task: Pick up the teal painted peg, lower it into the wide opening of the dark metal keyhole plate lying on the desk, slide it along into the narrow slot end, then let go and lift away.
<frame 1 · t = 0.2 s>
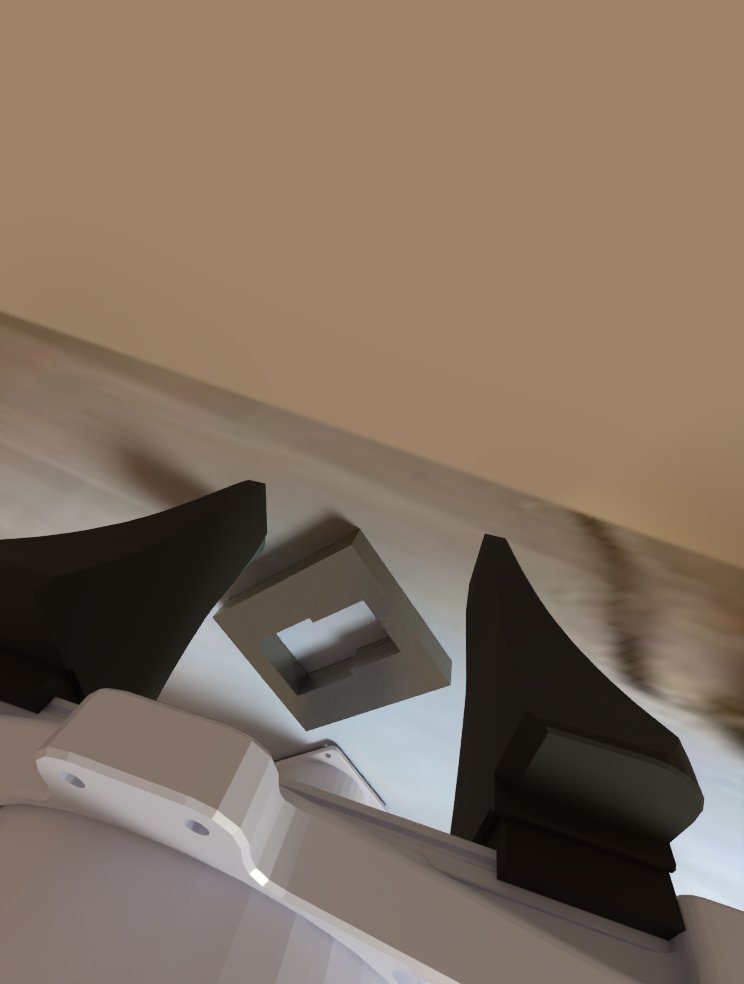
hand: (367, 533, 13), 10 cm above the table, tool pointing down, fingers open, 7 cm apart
keyhole plate: (335, 629, 28), on the table
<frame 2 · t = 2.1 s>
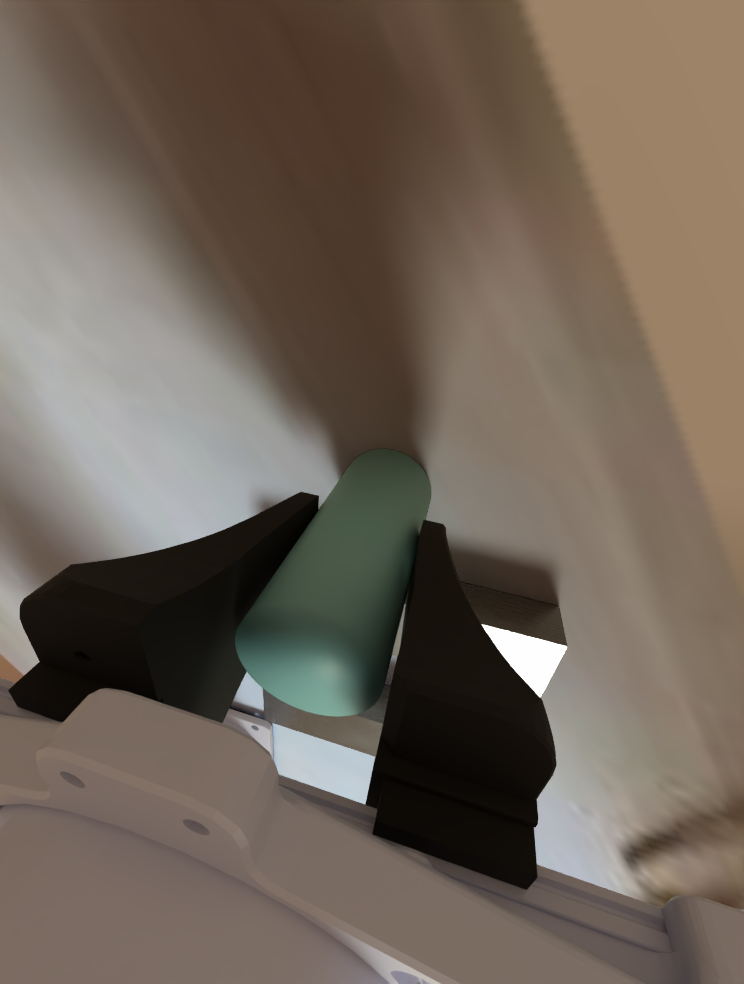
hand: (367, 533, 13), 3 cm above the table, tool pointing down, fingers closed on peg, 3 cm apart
peg: (386, 490, 16), on the table, touching gripper
keyhole plate: (393, 654, 20), on the table
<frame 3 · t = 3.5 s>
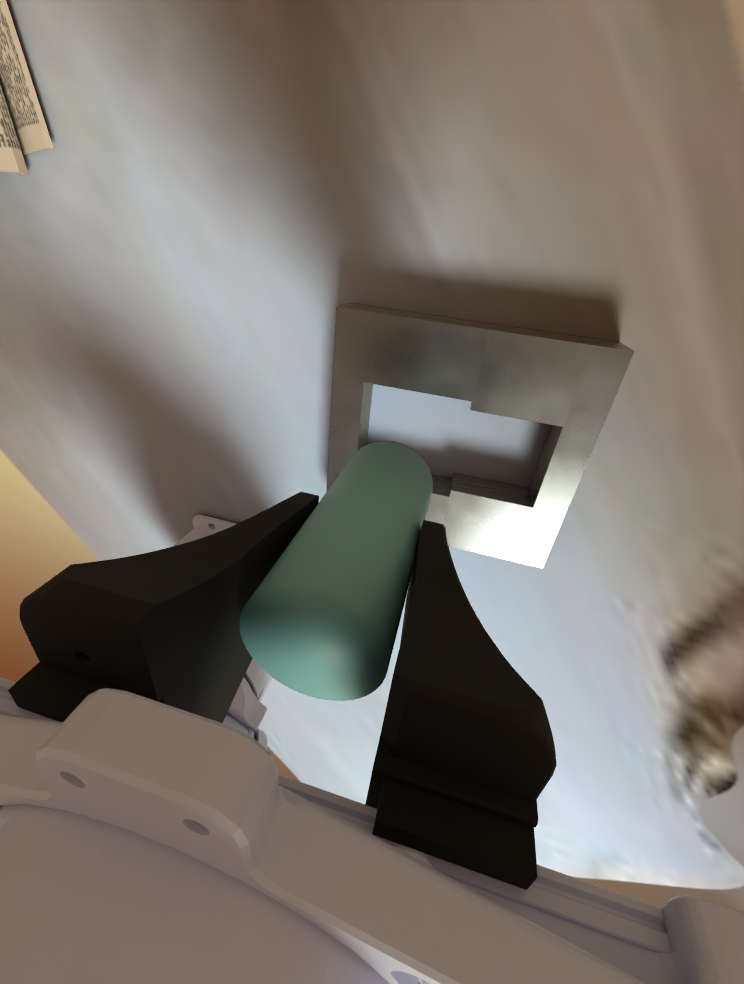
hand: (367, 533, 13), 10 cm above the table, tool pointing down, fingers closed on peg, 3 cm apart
peg: (388, 482, 16), point 7 cm above the table, touching gripper
keyhole plate: (452, 435, 21), on the table
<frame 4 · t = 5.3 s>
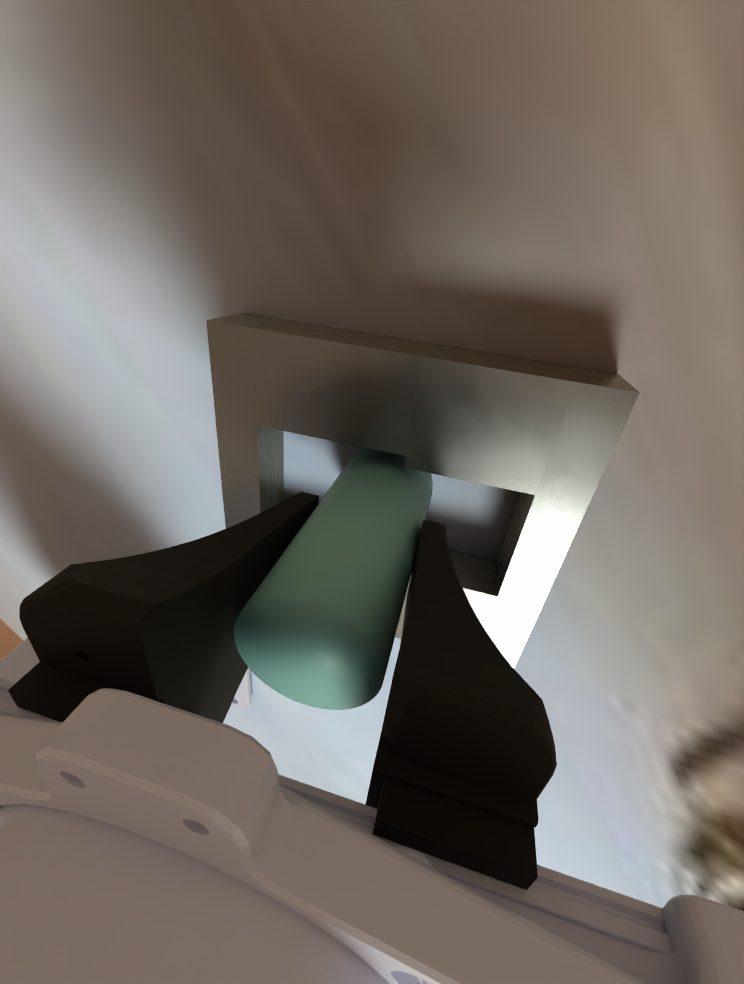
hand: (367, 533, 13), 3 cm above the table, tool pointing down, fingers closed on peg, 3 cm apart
peg: (387, 485, 15), resting in keyhole plate, touching gripper
keyhole plate: (392, 491, 16), on the table
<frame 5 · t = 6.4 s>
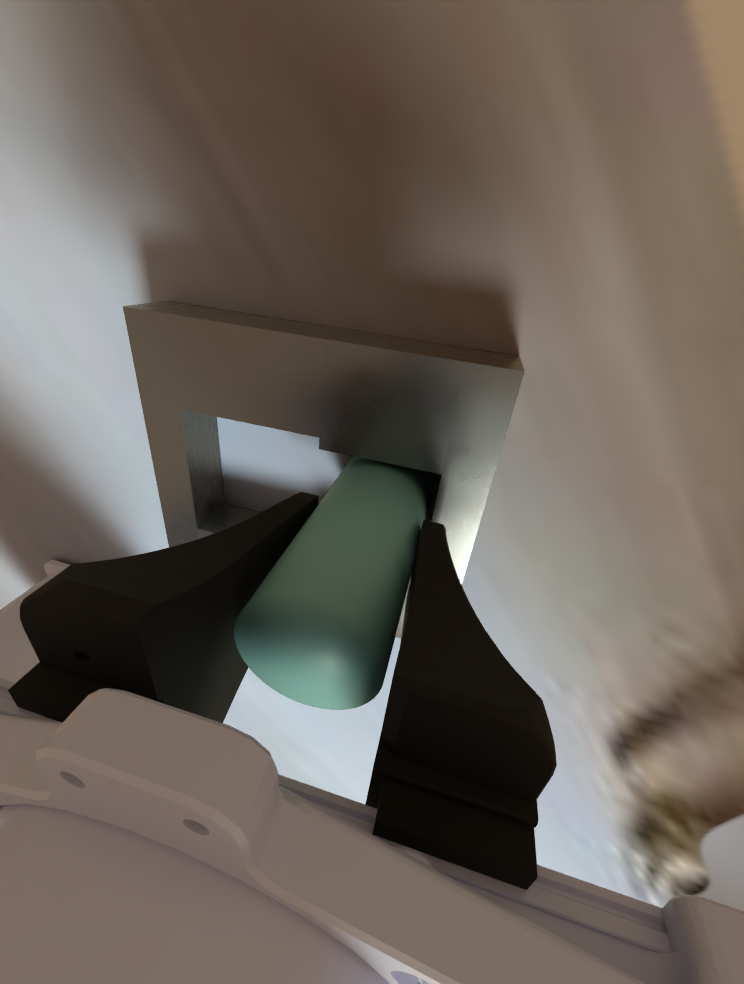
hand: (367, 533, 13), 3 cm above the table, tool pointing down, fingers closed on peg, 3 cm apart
peg: (387, 485, 15), resting in keyhole plate, touching gripper
keyhole plate: (323, 475, 16), on the table
when the fingers open (3 cm above the table, at t = 6.9 s): peg stays where it is, resting in keyhole plate.
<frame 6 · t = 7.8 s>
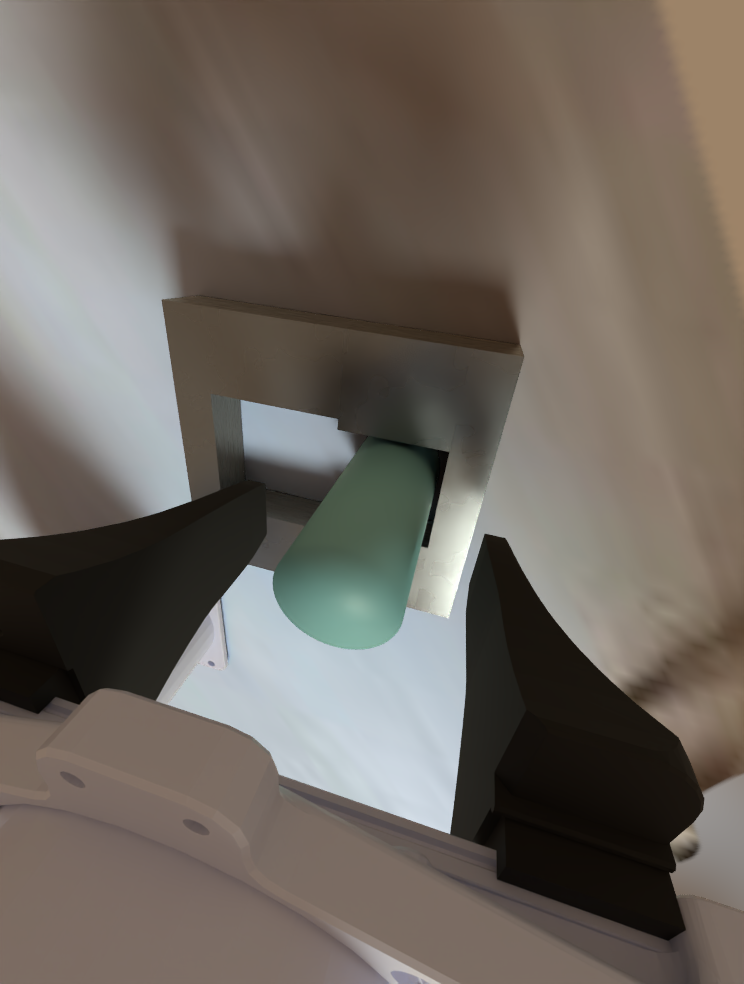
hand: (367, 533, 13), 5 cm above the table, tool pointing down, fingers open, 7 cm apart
peg: (398, 464, 17), resting in keyhole plate
keyhole plate: (338, 456, 17), on the table
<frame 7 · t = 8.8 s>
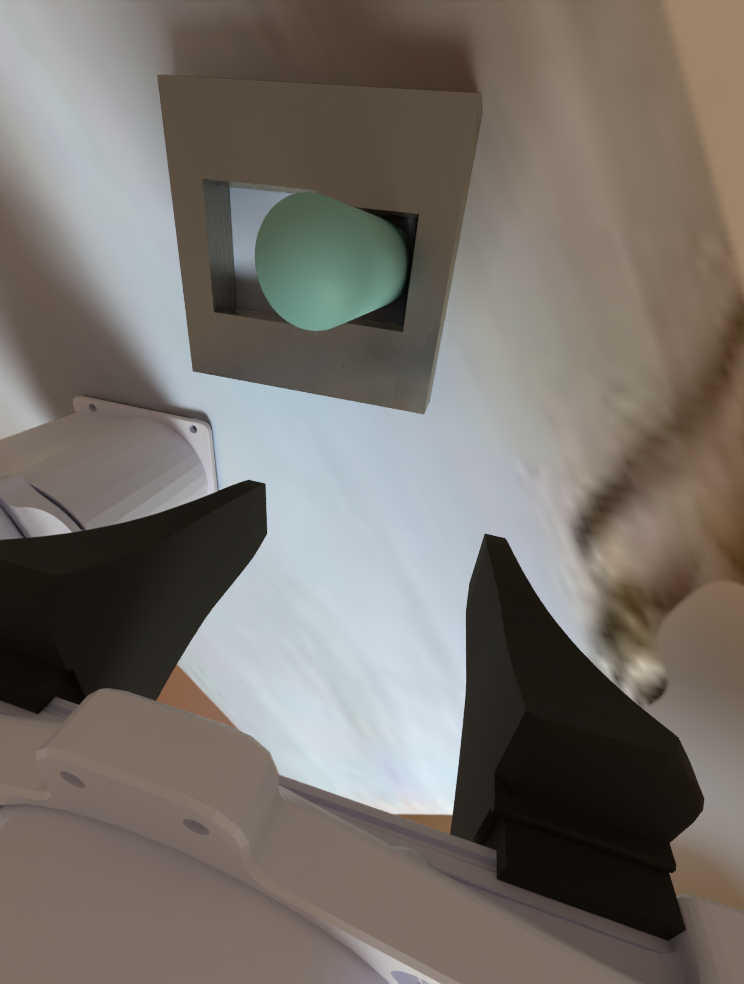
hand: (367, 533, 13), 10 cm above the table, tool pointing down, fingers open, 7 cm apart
peg: (376, 264, 18), resting in keyhole plate
keyhole plate: (321, 262, 19), on the table
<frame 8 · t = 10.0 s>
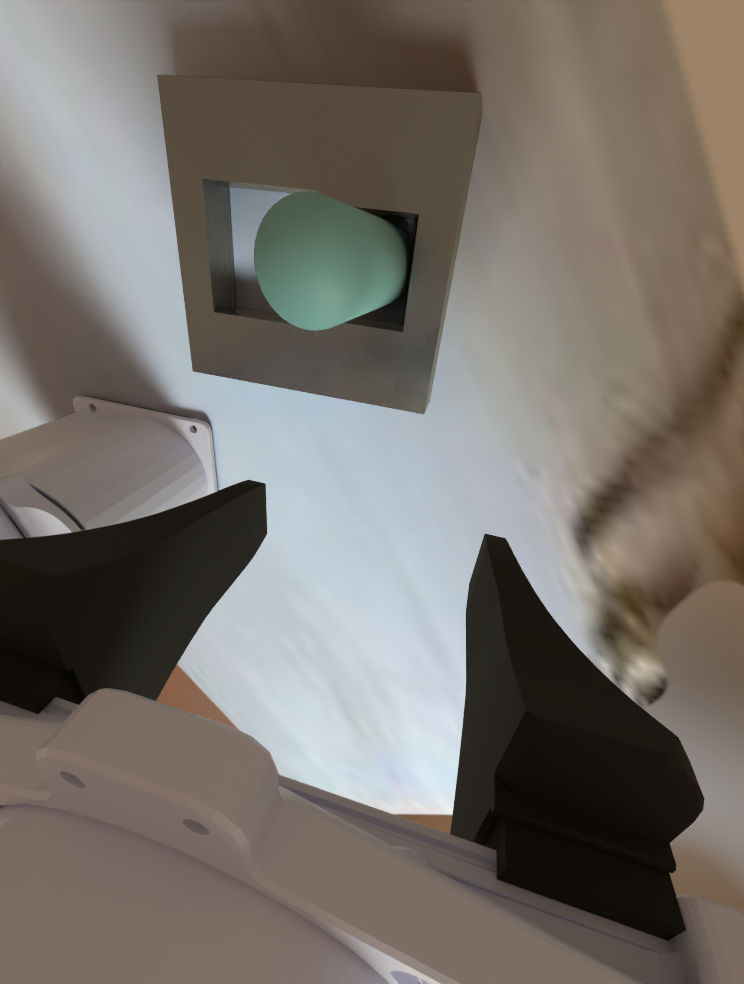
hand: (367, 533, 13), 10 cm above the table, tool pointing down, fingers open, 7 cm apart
peg: (376, 264, 18), resting in keyhole plate
keyhole plate: (321, 262, 19), on the table
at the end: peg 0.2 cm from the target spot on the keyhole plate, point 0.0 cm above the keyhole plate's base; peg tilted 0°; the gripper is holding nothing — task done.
